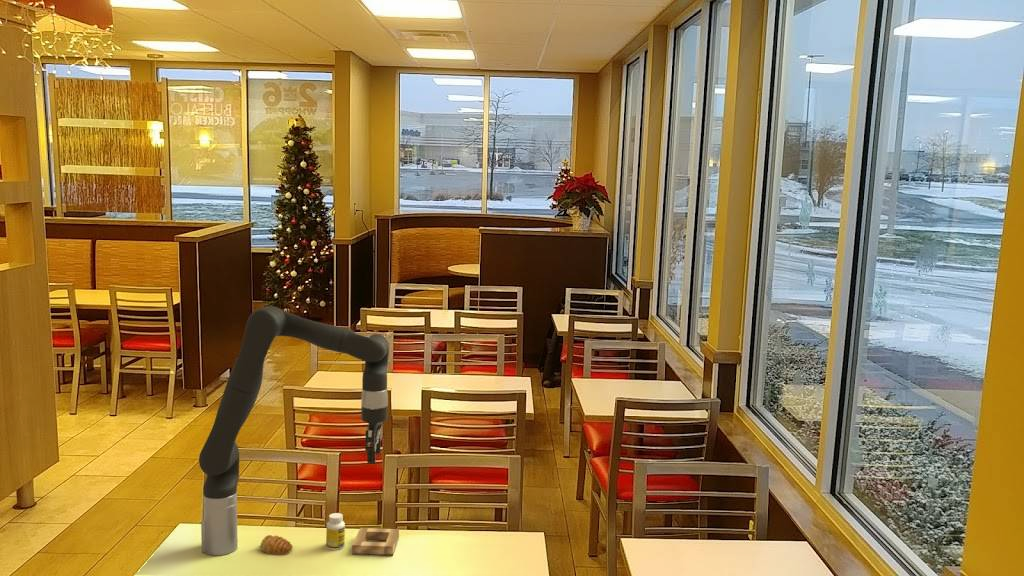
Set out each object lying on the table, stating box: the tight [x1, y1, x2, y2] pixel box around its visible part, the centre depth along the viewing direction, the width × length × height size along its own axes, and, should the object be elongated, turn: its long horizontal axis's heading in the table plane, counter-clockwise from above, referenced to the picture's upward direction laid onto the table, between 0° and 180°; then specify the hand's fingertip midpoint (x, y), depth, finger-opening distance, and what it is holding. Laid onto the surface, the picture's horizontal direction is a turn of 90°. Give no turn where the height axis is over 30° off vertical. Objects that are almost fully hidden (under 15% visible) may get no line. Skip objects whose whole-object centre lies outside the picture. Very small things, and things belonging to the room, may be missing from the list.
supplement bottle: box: [325, 512, 346, 551], centre depth 240 cm, size 5×5×10 cm
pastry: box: [259, 534, 293, 556], centre depth 237 cm, size 9×7×4 cm
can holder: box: [351, 527, 400, 557], centre depth 241 cm, size 12×12×3 cm
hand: (373, 458), depth 233 cm, fingers open, 8 cm apart
